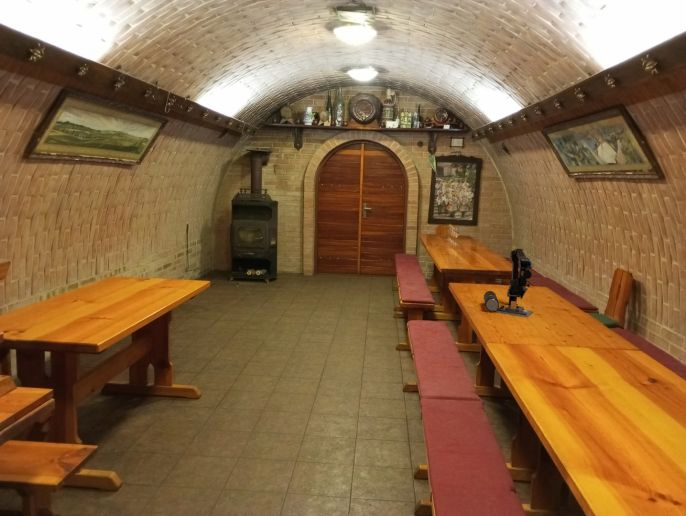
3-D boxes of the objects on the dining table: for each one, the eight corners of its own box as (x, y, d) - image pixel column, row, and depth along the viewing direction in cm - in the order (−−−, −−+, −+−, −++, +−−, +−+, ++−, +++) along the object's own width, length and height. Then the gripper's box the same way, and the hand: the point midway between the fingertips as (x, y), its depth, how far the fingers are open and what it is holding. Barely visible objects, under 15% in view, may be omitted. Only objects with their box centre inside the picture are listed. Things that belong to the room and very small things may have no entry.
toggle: (511, 310, 388) (512, 300, 387) (516, 311, 386) (517, 301, 385) (509, 311, 386) (510, 301, 385) (514, 312, 384) (515, 302, 383)
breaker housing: (510, 308, 397) (510, 304, 397) (527, 310, 391) (527, 307, 390) (505, 311, 386) (505, 308, 386) (522, 314, 380) (523, 310, 379)
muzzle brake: (496, 304, 412) (496, 290, 411) (499, 313, 385) (499, 298, 384) (482, 303, 414) (483, 290, 413) (484, 312, 387) (485, 297, 385)
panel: (502, 307, 402) (502, 306, 401) (533, 313, 390) (533, 311, 390) (495, 312, 388) (495, 310, 388) (527, 317, 377) (527, 315, 377)
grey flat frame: (502, 306, 400) (502, 305, 400) (531, 311, 390) (531, 309, 389) (496, 310, 388) (496, 308, 388) (526, 315, 377) (526, 313, 377)
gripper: (515, 273, 399) (513, 294, 401) (507, 276, 384) (505, 298, 386) (531, 275, 393) (529, 297, 395) (523, 278, 378) (521, 301, 380)
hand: (521, 298), depth 389 cm, fingers closed
